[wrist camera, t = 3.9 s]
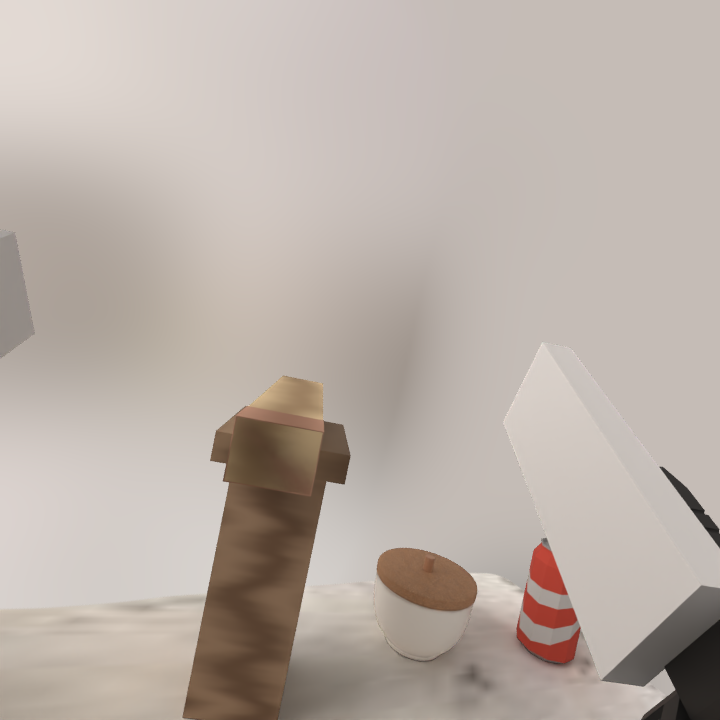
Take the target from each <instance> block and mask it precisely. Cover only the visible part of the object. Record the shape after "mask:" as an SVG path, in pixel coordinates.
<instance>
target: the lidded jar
mask: <svg viewBox="0 0 720 720" xmlns="http://www.w3.org/2000/svg"><path fill="white" fill-rule="evenodd" d="M476 595H477V585H476V582H475V581H474V579H473V578H472V576H471V575H470V574H469V573H468V572H467V571H466V570H465V569H463V568H462V567H461V566H459V565H458V564H456V563H454V562H452V561H451V560H449V559H447V558H444V557H442V556H440V555H437V554H434V553H431V552H428V551H424V550H419V549H412V548H396V549H391V550H388V551H386V552H384V553H383V554H382V555H381V556H380V557H379V559H378V564H377V574H376V579H375V586H374V610H375V616H376V619H377V622H378V624H379V627H380V628H381V630H382V632H383V633H384V635H385V638H386V641H387V642H388V644H389V645H390V646H391V647H392V648H393V649H394V650H395V651H396V652H398V653H399V654H401V655H403V656H405V657H407V658H410V659H413V660H417V661H430V660H433V659H435V658H437V657H438V656H439V655H441V654H443V653H445V652H447V651H448V650H450V649H451V648H452V647H453V646H455V645H456V643H457V642H458V641H459V639H460V638H461V637H462V635H463V633H464V631H465V629H466V627H467V624H468V621H469V618H470V615H471V612H472V608H473V603H474V601H475V599H476Z"/></svg>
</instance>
